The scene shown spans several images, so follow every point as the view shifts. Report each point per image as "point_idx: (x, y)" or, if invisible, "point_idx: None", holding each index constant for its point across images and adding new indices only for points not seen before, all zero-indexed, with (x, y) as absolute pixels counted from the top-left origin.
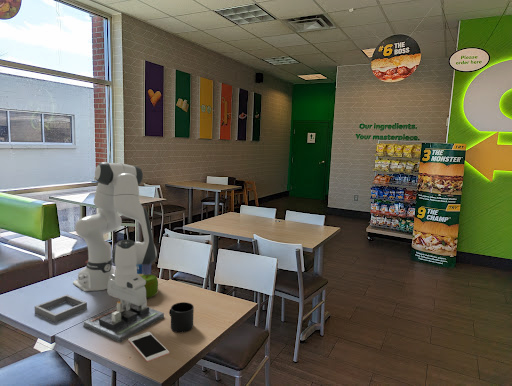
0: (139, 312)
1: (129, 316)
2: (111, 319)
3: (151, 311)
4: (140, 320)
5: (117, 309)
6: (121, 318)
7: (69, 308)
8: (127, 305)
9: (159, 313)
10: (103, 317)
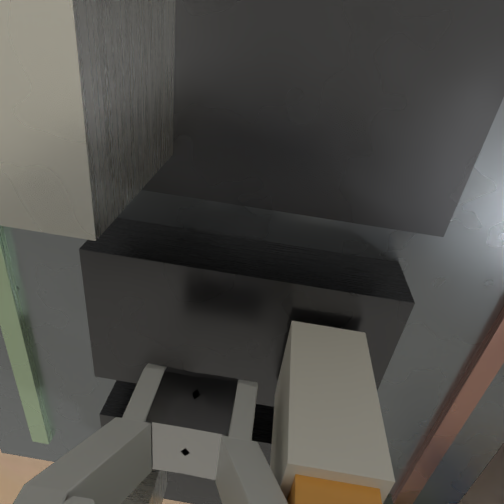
0: (124, 403)
1: (101, 291)
2: (268, 98)
3: None
4: (35, 303)
5: (352, 358)
6: (227, 247)
7: None
8: (73, 451)
9: (22, 440)
10: (482, 95)
